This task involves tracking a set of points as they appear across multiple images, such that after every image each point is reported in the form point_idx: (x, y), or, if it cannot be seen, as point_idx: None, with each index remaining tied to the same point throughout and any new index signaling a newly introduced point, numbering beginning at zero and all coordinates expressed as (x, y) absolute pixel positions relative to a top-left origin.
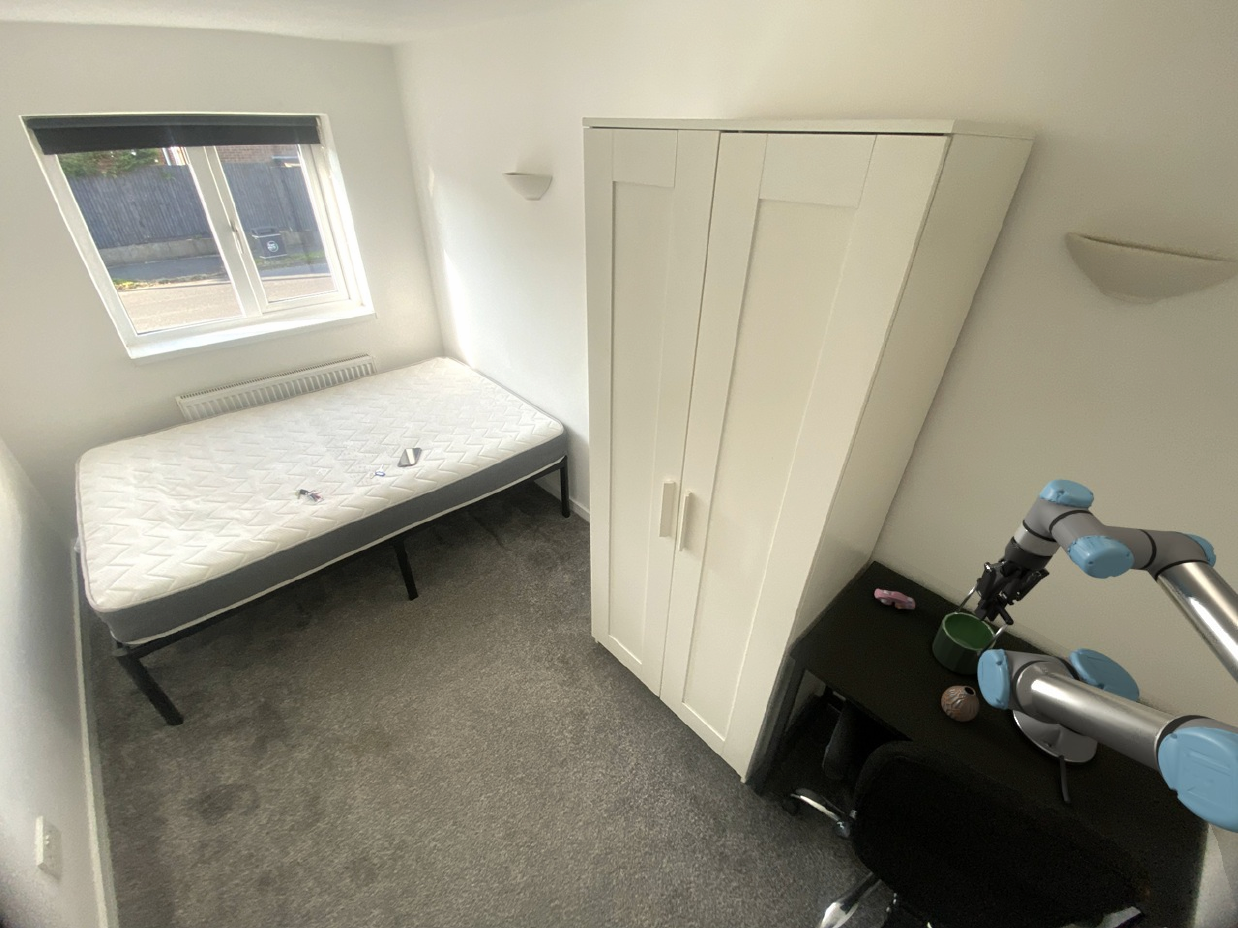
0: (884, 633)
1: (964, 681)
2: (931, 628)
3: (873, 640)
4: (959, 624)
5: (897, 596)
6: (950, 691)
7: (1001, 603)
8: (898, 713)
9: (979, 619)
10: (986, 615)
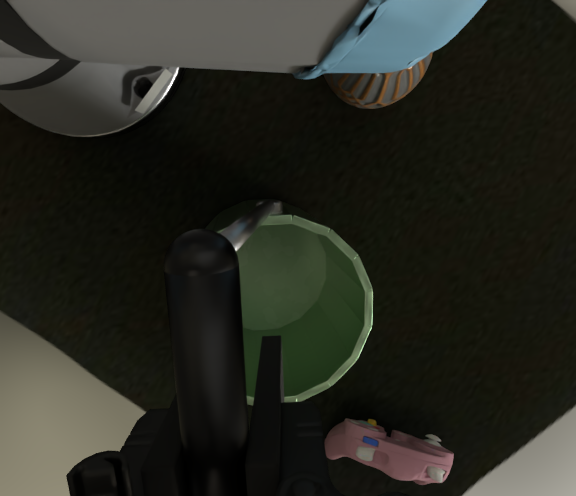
0: (451, 327)
1: (276, 179)
2: None
3: (498, 299)
4: (252, 361)
5: (413, 461)
6: (426, 61)
7: (179, 465)
8: (543, 42)
9: (281, 345)
10: (263, 363)
